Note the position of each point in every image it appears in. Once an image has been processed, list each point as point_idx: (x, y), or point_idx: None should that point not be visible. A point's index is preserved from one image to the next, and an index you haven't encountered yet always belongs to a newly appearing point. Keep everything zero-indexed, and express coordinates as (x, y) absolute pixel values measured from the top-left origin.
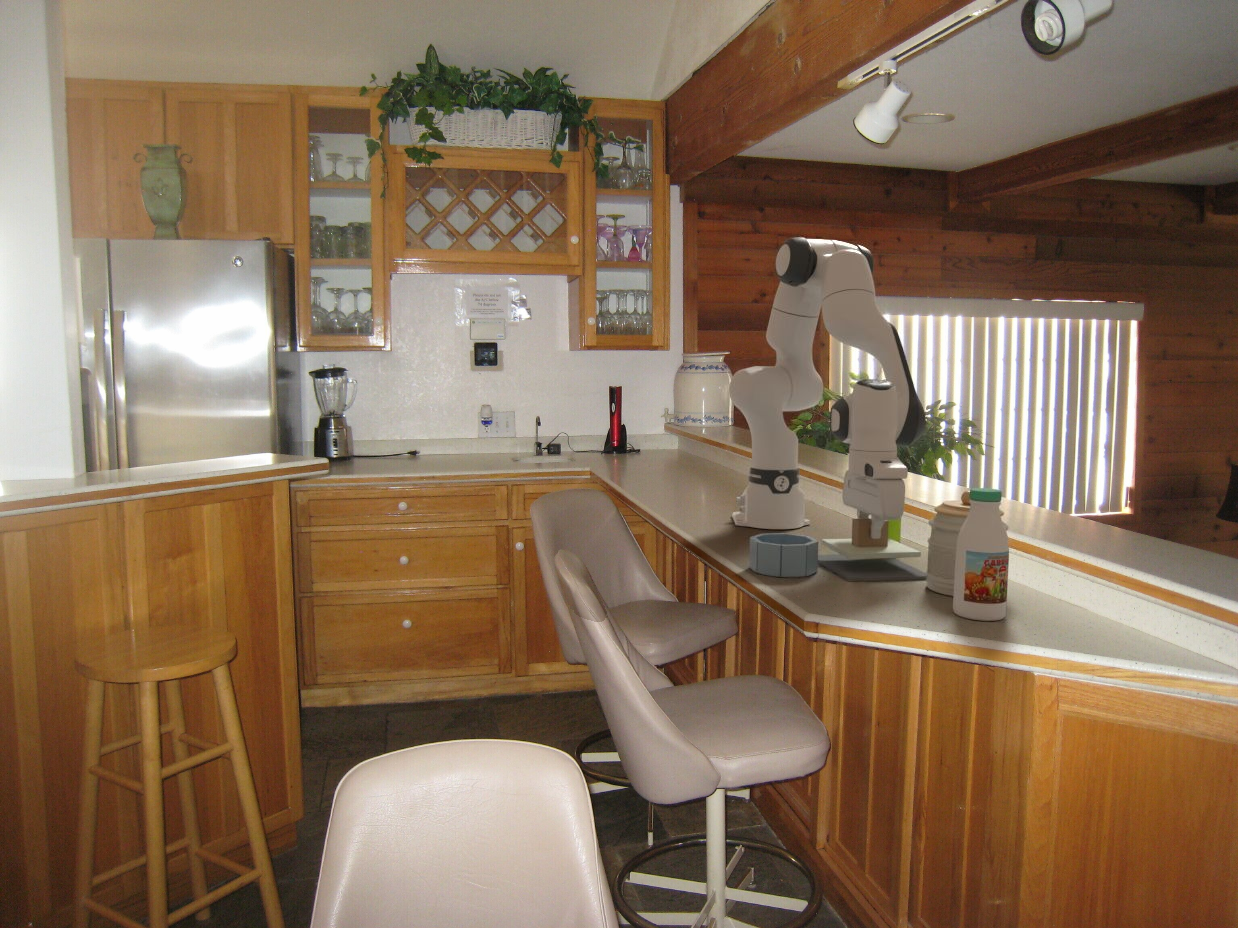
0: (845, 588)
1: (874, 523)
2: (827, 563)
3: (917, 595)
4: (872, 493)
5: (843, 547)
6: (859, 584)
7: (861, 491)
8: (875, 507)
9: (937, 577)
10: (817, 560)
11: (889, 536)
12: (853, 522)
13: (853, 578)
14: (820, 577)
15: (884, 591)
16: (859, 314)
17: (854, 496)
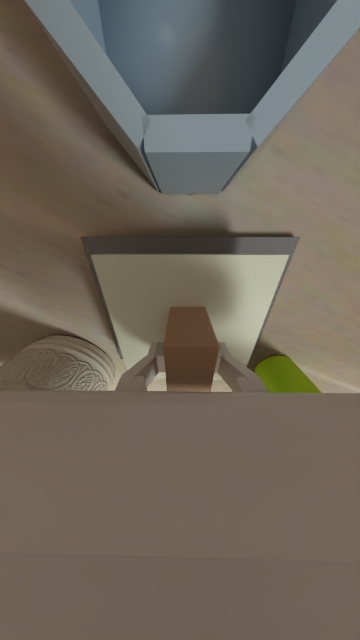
0: (21, 203)
1: (128, 371)
2: (210, 245)
3: (27, 310)
4: (24, 576)
5: (170, 272)
6: (67, 250)
7: (230, 560)
8: (27, 434)
9: (28, 348)
10: (151, 179)
11: (269, 387)
12: (206, 338)
13: (85, 248)
14: (111, 179)
15: (30, 274)
16: None
17: (317, 466)
